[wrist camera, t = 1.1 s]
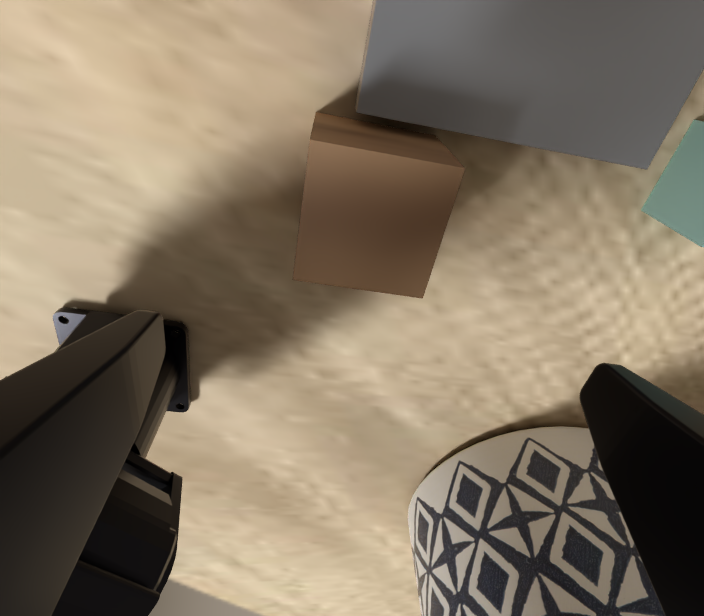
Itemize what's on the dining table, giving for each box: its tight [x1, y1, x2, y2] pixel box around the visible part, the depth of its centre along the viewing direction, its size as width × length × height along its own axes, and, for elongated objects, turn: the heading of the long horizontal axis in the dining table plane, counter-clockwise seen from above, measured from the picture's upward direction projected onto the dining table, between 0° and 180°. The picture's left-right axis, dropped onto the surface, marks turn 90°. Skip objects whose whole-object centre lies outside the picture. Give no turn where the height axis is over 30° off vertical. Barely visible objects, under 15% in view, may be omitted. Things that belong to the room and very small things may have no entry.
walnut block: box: [293, 112, 465, 298], centre depth 17 cm, size 5×5×5 cm
